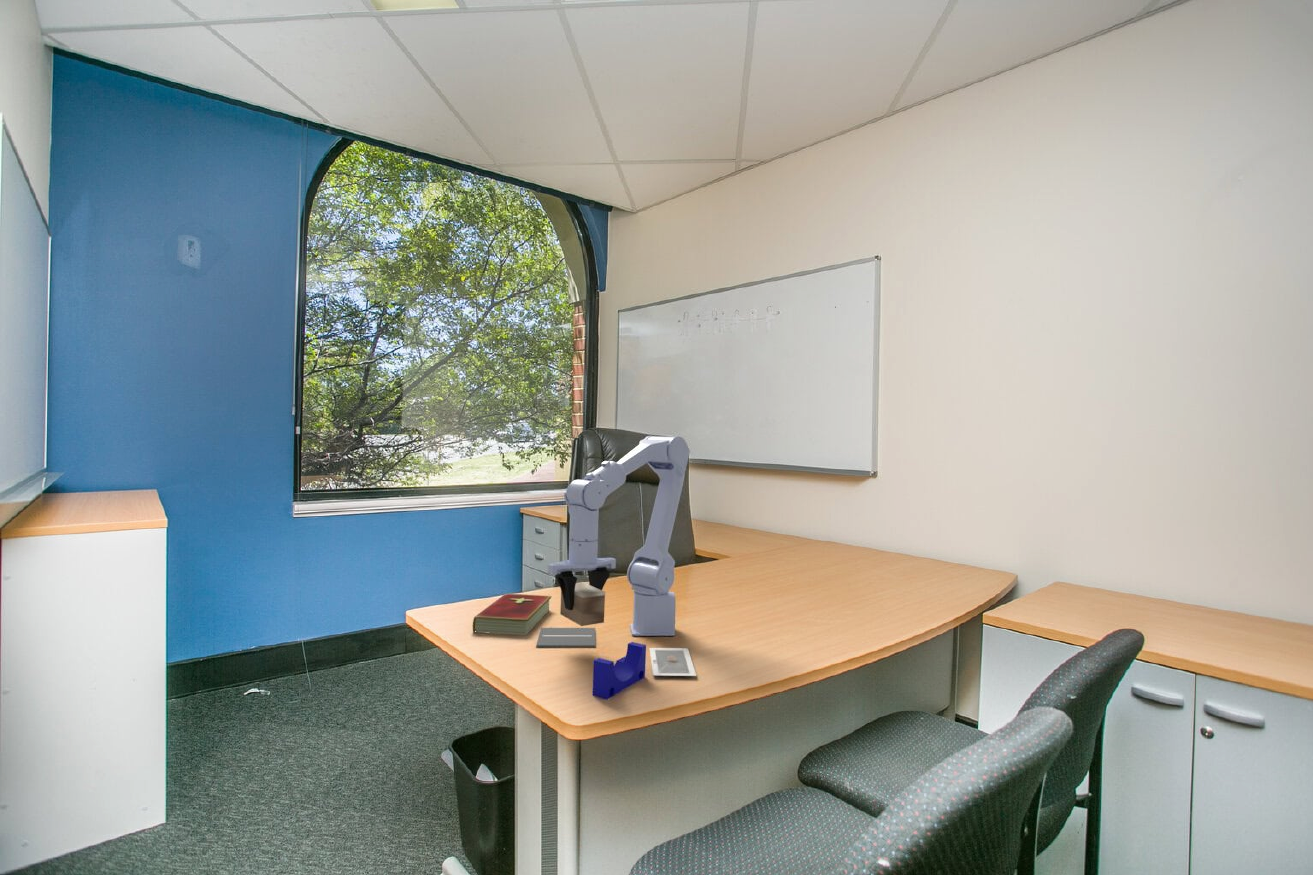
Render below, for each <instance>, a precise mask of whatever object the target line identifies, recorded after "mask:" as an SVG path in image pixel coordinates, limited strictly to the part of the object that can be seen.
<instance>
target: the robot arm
mask: <svg viewBox="0 0 1313 875" xmlns="http://www.w3.org/2000/svg"><path fill="white" fill-rule="evenodd" d="M638 442H639V443H638V445H637V446H635V447H634V448H633V449H632V450H630V451H629V452H628V453H627V454H625V455H624V456H623V457H622V458H620V459H619V460H618V461H613V460H604V461H602V462H601V463H600V464H601V466H599V467H598V468H597V469H595V470H594V471H592V472H587V473H586V474H585V477H583V479H580V478H579V479H574V480H573V481H571V482H570V483H569V484H568V486H567V488H566V491H565V492H564V493H563V494H564V495H563V496H564V501H565V503H566V505H567V507H568V514H569V533H568V534H569V536H568V544H569V545H568V559H567V560H563V561H558V562H553V563H548V564H547V575H548V574H549V575H550V576H554V577H555V579H556V581H557V583H558V586H559V588H560V591H562V595H563V599H564V604H565V608H566V609H568V610H573V606H574V591H575V585H576V583H577V581H578V577H576V576H574V573H576V572H577V573H578V572H579V573H580V572H586V571H587V575H588V576H587V577H588V583H589V585H591V586H593V587H595V588H598V589H600V590H602V591H603V589H604V588H605V584H606V583H607V581H608V579H609V578H610V575H611V572H610V570H608V569H611V570H612V569H616V568H617V567H616V564H617V562H616V561H617V559H616V558H613V557H598V547H599V546H598V544H599V543H598V541H599V510H600V508H602V507H603V505H604V504H605V501H606V499H607V497H609V495H610V494H612V493H613V492H615V491H616V490H618V489H619V488H620V487H622V485H624V484H625V483H626V480H627V475H629V474H631V473H632V472H635V471H636V470H638V469H640V468H641V467H643V466H644V465H646V464H647V465H648V466H649V467H650V469H651V470H652V471H653V472H654V473H655V474H657V476H658V478H659V483H658V487H657V492H656V497H655V501H654V504H653V508H652V512H651V516H650V522H649V525H648V530H647V533H646V538H645V542H644V545H643V546H642V547H640V548H639V549H638V550H636V551H635V552H634V554H633V559H632V561H631V562H630V563H629V566H628V568H627V572H626V577H627V581H628V583H629V584H630V585H631V590H632V591H633V611H632V615H633V616H632V622H631V623H629V627H630V633H631V635H632V636H633V637H634V636H635V637H636V636H638V637H640V636H642V637H643V636H645V637H646V636H648V637H649V636H650V637H651V636H653V637H656V636H657V637H664V636H665V637H674V636H676V632H675V631H676V611H677V610H676V593H675V592H674V591H670V589H672V586H673V585H674V582H675V565H676V560H675V559H674V558H673V556H672V555H671V553H669V547H670V543H671V538H672V533H673V529H674V525H675V521H676V516H677V511H678V508H679V504H680V500H681V495H682V490H683V485H684V482H685V474H686V471H687V466H688V461H689V457H690V453H691V451H690V449H689V446H688V443H687V441H686V440H685V439H684V437H682V436H680V435H679V436H678V435H677V436H655V435H648V436H646V437H645V438H644V439H641V440H640V441H638ZM655 561H656V562H655Z"/></svg>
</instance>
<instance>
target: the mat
mask: <svg viewBox="0 0 1313 875" xmlns="http://www.w3.org/2000/svg"><path fill="white" fill-rule="evenodd" d="M596 646H597V645H596V628H595V627H540V629H539V633H538V637H537V641H536V645H535V648H596Z"/></svg>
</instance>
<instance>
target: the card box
mask: <svg viewBox="0 0 1313 875" xmlns="http://www.w3.org/2000/svg"><path fill="white" fill-rule="evenodd" d="M560 591H561V590H560ZM605 601H606V591H604V590H603V589H602V590H600V589H598V588H595V587H593V586H591V585H589V584H588V583H586V582H584V581H581V582H576V585H575V591H574V606H573V610H568V609H566V608H565V604H564V599H563V595H562V591H561V592H560V609H559V610H560V611H559V612H560V613H559V614H560V616H563V617H565V618H566V619H568V620H570V621H572V622H573V623H575V624H577V625H579V626H581V627H583V626H584V627H585V626H590V625H598V624H604V623H605V607H606V606H605V603H606V602H605Z"/></svg>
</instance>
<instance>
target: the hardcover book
mask: <svg viewBox="0 0 1313 875" xmlns="http://www.w3.org/2000/svg"><path fill="white" fill-rule="evenodd" d="M551 599H552V595H542V594H541V595H539V594H524V593H523V594H520V593H504V594H503V595H502V596H501V597H499V598H498V599H496V600H495V601H494V602H492V603H491V604H490V605H488V606H487V607H486V608H484V609H483V610H481V611H480V612H479V613H477V614H476V615H475V616H474V617H473V618H472V619H473V620H472V633H473V632H475V631H476V632H475V633H480V632H489V633H488V634H496V633H498V635H499V634H500V635H517V636H526V635H527V634H528V633H529V632H531V630H532V629H533V628H534V627H535V626H536V625H537V624H538V623H539V621H540V620H541V619H542V618H543V617H544V616H545V615H547V613H548V612H549V610H550V600H551Z"/></svg>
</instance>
